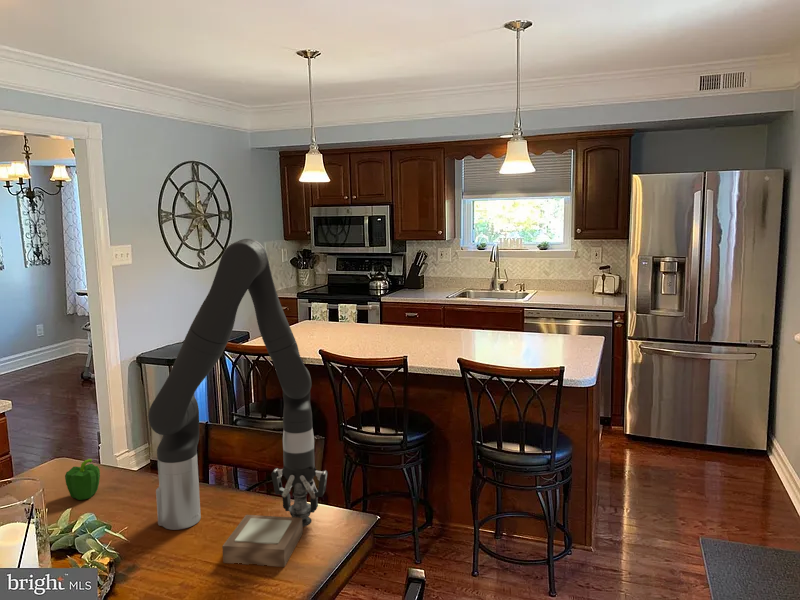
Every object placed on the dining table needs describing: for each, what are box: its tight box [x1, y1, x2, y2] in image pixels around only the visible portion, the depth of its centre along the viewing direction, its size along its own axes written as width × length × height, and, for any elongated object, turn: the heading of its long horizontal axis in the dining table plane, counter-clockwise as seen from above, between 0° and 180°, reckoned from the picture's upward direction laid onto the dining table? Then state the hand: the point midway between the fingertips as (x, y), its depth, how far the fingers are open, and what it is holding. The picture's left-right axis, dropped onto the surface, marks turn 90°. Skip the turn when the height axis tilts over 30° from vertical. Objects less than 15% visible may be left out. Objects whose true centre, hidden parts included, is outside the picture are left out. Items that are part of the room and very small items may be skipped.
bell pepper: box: [64, 458, 101, 501], centre depth 166 cm, size 8×8×10 cm
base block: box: [222, 514, 304, 568], centre depth 140 cm, size 14×14×4 cm
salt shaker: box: [288, 483, 312, 528], centre depth 151 cm, size 6×6×12 cm
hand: (300, 510), depth 151 cm, fingers closed on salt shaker, 6 cm apart
